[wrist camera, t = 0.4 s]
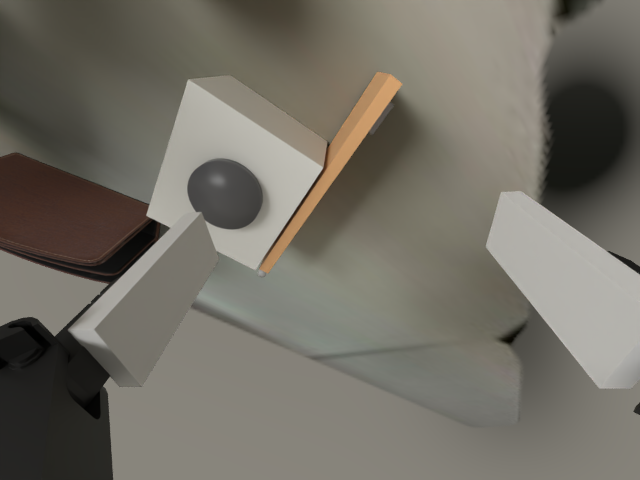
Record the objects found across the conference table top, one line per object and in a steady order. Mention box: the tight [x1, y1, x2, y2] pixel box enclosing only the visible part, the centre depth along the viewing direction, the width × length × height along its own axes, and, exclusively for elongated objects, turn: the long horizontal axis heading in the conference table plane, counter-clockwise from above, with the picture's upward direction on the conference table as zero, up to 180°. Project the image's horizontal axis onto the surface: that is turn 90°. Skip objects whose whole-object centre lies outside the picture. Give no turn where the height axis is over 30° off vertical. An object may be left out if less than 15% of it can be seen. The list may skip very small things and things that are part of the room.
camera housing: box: [146, 75, 327, 270], centre depth 31 cm, size 13×15×11 cm
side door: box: [258, 72, 402, 277], centre depth 31 cm, size 2×25×9 cm, turn 148°
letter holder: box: [0, 153, 160, 284], centre depth 35 cm, size 10×20×14 cm, turn 66°
